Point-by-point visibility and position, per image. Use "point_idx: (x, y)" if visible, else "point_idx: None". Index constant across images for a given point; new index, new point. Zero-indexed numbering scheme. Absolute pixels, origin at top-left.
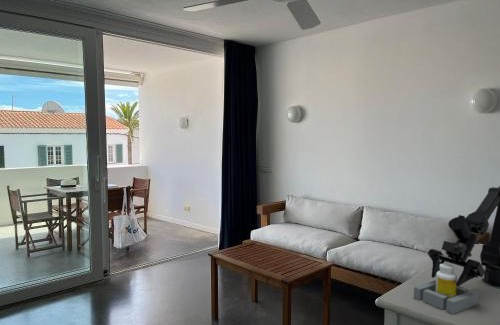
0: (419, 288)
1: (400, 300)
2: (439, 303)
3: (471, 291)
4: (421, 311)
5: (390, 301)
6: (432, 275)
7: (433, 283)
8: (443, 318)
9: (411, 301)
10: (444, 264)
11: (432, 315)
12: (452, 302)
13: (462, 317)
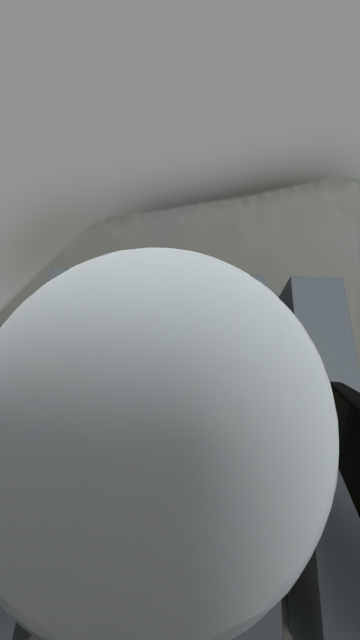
0: (305, 285)
1: (317, 236)
2: None
3: (2, 621)
4: (188, 220)
5: (329, 196)
6: (333, 383)
7: (335, 489)
8: (96, 235)
9: (282, 266)
10: (250, 467)
11: (139, 224)
12: (62, 269)
13: None
